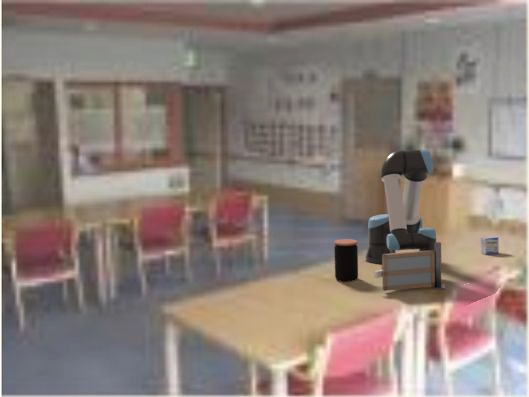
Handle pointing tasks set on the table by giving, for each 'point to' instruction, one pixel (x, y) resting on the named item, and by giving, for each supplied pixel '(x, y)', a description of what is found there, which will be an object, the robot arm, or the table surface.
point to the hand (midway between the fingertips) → (375, 274)
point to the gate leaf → (408, 270)
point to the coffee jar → (346, 260)
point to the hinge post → (438, 268)
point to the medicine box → (489, 245)
